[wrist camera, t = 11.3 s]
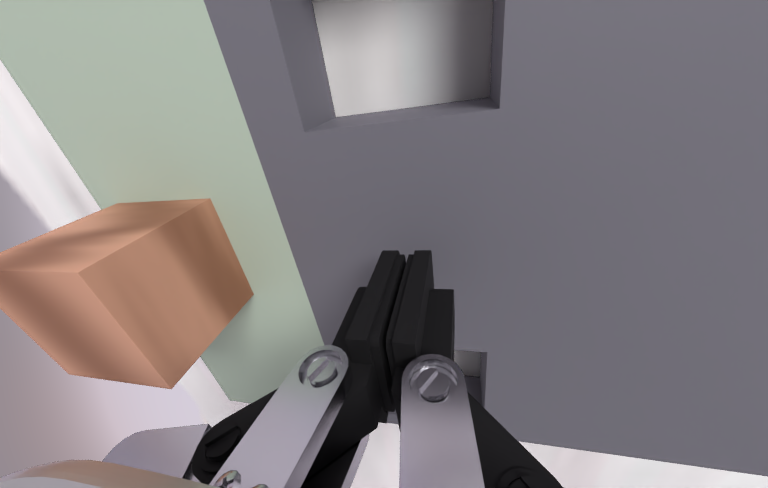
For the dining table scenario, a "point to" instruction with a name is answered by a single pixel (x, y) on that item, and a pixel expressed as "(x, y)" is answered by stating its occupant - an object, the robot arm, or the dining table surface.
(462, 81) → the dining table surface
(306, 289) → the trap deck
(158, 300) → the terracotta block
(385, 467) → the dining table surface
